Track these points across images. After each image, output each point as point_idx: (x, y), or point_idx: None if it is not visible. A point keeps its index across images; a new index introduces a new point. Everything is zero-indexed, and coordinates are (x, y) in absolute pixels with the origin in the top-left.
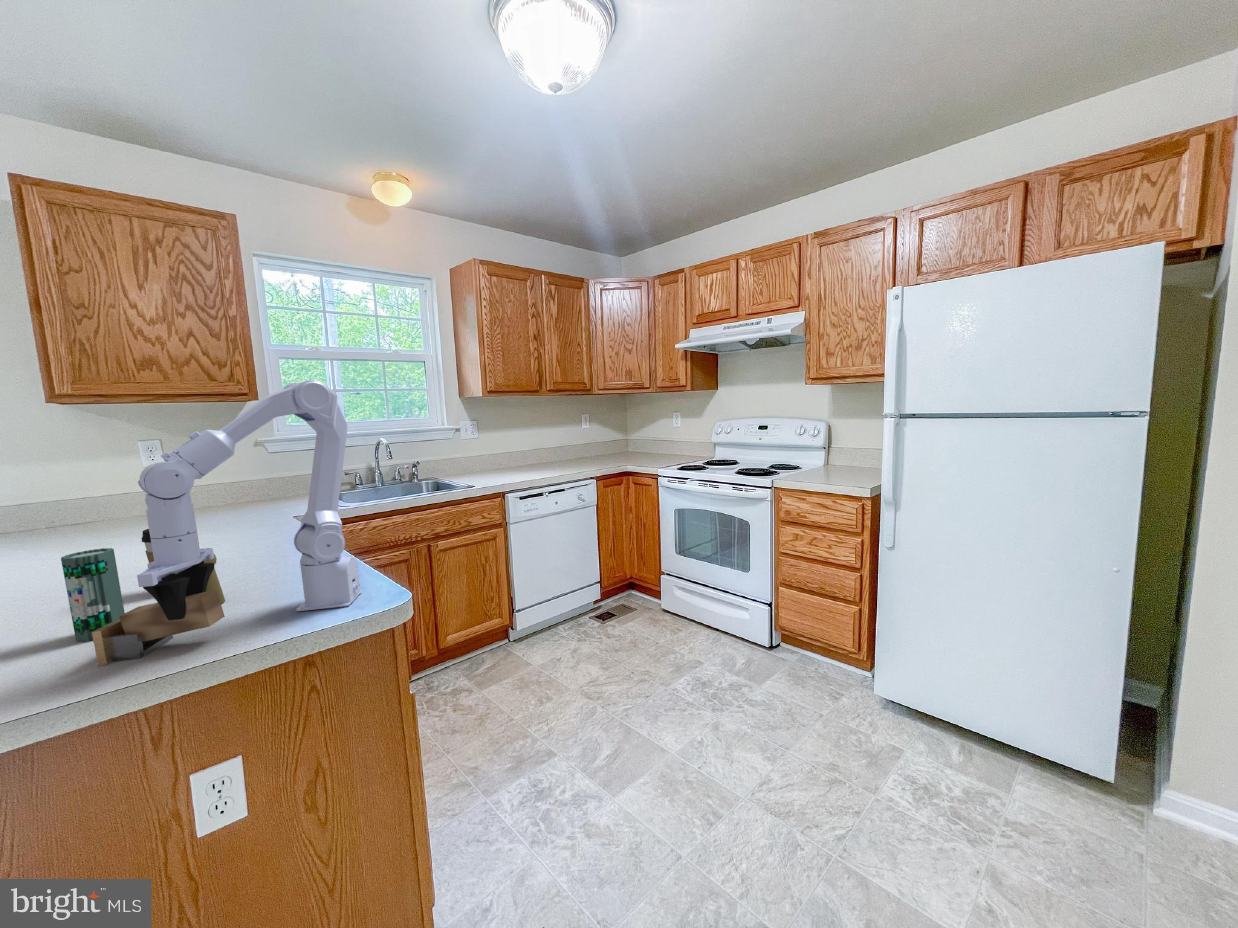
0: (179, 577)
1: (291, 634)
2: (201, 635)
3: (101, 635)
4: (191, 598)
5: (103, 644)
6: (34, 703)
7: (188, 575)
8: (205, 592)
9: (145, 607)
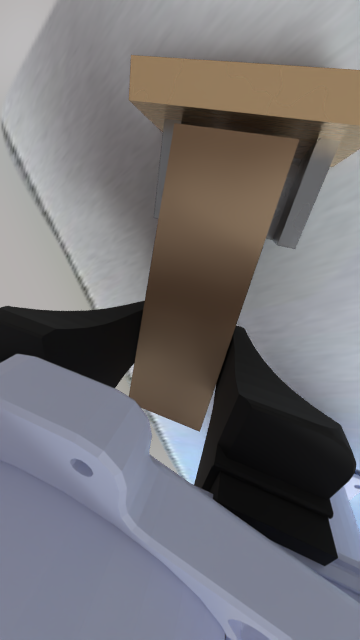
0: (227, 397)
1: (168, 423)
2: (253, 305)
3: (138, 107)
4: (158, 376)
5: (153, 122)
6: (38, 104)
7: (213, 435)
8: (198, 405)
9: (219, 211)
